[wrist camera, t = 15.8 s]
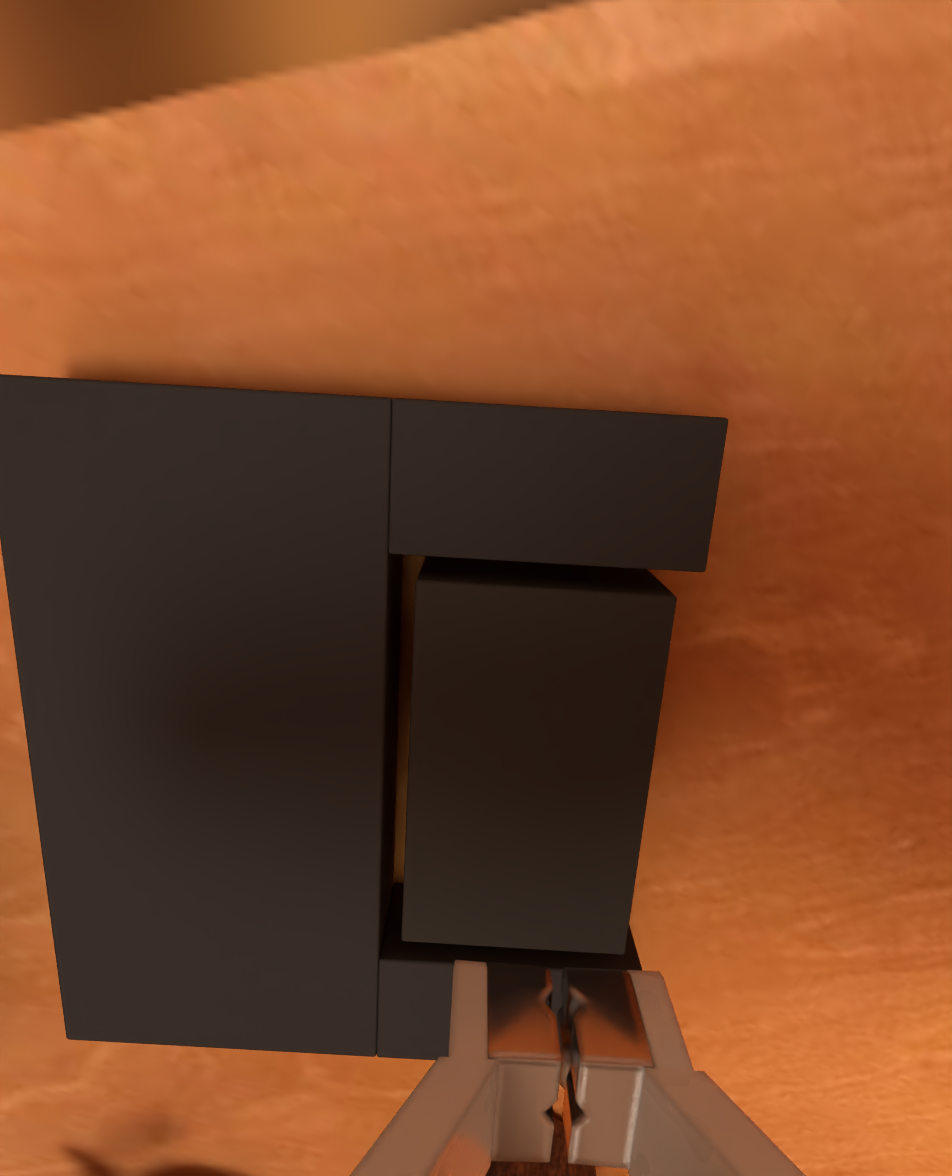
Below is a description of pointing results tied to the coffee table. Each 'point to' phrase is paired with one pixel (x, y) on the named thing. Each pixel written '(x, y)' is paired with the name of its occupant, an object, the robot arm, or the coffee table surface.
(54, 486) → the base pad
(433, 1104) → the robot arm
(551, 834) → the black pad
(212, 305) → the coffee table surface
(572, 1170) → the sculpture
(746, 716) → the coffee table surface
